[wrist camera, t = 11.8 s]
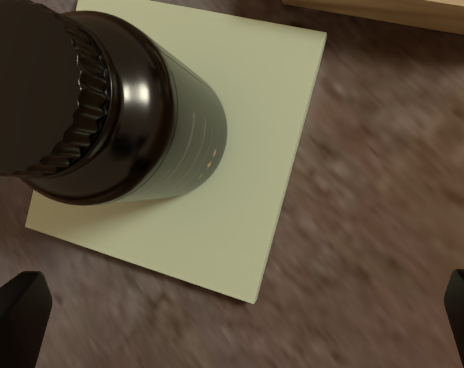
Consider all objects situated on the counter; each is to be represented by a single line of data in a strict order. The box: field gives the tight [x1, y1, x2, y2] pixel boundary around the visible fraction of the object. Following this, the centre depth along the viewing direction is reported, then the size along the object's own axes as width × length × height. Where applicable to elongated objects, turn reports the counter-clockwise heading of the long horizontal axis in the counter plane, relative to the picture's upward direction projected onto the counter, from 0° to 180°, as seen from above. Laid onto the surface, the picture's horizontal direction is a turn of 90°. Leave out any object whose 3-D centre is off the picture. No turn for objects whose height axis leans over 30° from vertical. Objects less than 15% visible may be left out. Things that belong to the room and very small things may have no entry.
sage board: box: [25, 0, 327, 304], centre depth 23 cm, size 14×14×1 cm
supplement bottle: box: [0, 0, 228, 206], centre depth 17 cm, size 7×7×12 cm
